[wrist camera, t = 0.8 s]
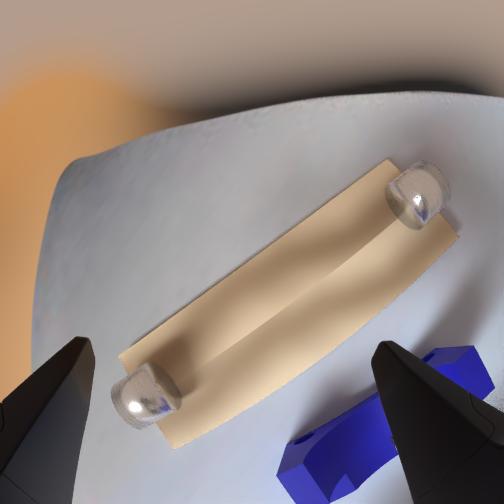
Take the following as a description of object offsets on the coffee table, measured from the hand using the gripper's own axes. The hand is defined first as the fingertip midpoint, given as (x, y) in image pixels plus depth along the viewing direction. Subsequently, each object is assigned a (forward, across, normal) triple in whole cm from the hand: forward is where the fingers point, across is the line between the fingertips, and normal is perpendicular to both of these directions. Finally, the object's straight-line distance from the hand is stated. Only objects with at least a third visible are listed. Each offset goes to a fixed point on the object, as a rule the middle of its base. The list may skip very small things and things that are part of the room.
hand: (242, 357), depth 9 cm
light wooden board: (+10, -5, +6) cm, 13 cm away
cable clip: (+3, -11, +10) cm, 15 cm away
